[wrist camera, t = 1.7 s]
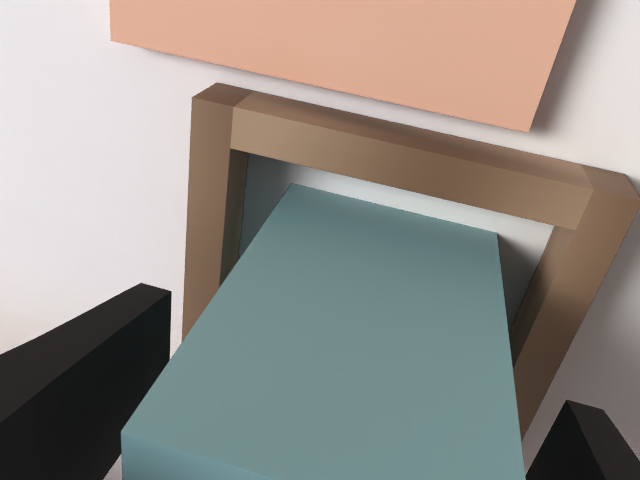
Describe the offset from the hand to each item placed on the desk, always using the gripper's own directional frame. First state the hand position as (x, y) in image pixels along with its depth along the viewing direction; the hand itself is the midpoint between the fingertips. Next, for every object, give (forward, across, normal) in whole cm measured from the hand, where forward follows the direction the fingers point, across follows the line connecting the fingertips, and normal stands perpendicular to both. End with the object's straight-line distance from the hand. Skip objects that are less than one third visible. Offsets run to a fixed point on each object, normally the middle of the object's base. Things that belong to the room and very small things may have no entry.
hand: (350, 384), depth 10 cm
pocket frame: (+3, 0, 0) cm, 3 cm away
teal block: (+3, 0, 0) cm, 3 cm away
